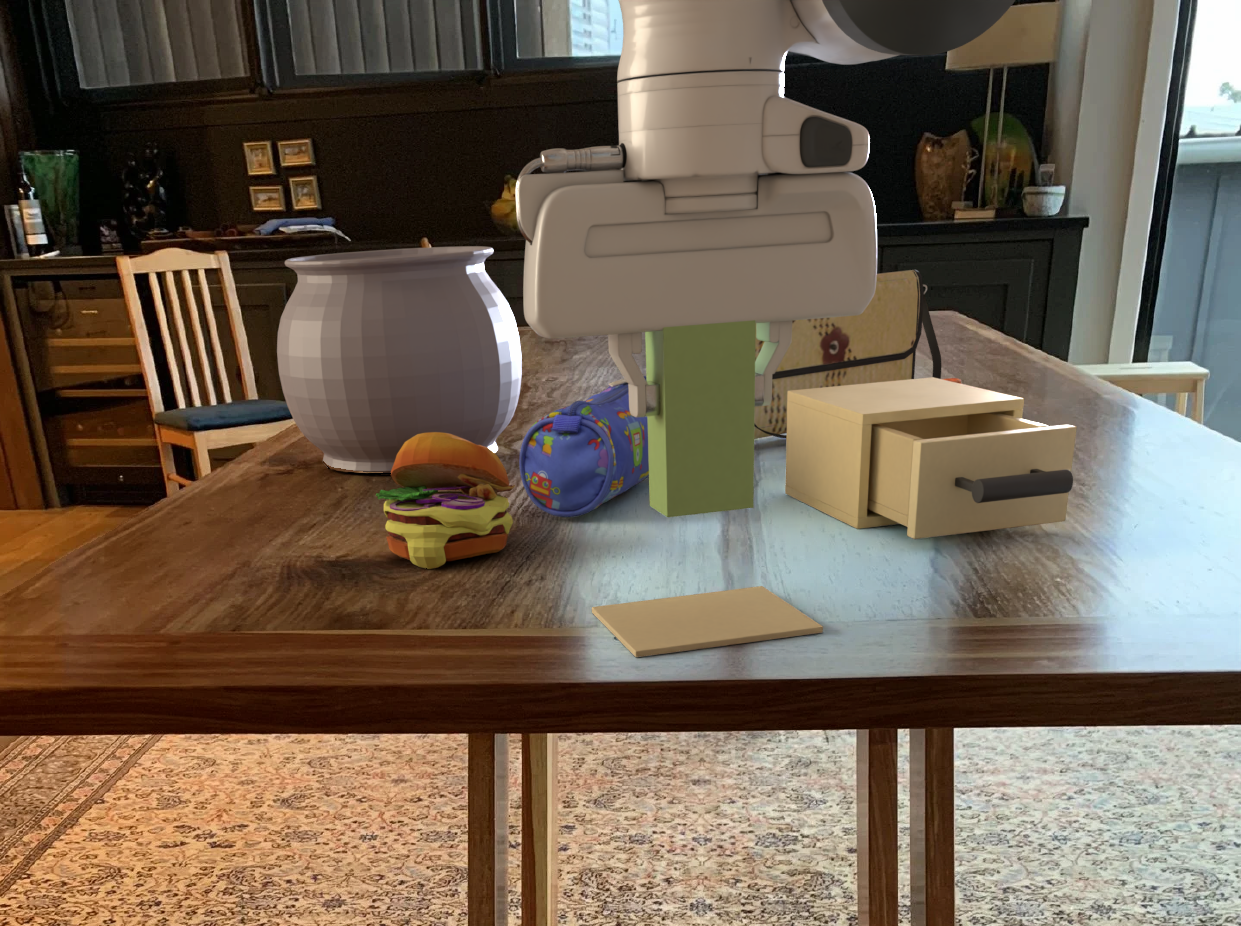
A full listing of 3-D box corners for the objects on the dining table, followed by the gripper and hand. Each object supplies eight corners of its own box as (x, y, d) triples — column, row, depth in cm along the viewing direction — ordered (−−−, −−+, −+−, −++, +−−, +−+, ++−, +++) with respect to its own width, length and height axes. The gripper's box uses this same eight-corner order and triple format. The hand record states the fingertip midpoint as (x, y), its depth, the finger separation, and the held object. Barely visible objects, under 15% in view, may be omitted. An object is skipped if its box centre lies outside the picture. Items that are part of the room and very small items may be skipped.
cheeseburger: (359, 569, 99) (353, 429, 96) (413, 567, 109) (410, 440, 106) (485, 569, 96) (483, 426, 94) (530, 567, 106) (528, 438, 104)
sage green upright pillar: (733, 497, 82) (733, 306, 77) (753, 508, 79) (756, 310, 74) (649, 506, 81) (644, 313, 76) (667, 518, 78) (663, 317, 73)
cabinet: (1012, 511, 105) (1024, 398, 101) (857, 529, 103) (862, 414, 99) (925, 478, 118) (933, 377, 114) (784, 493, 115) (787, 390, 111)
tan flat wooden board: (762, 591, 89) (762, 585, 89) (823, 632, 80) (823, 626, 80) (591, 612, 86) (591, 606, 86) (635, 657, 78) (635, 651, 78)
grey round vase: (499, 481, 126) (481, 254, 117) (255, 485, 131) (220, 267, 122) (548, 435, 148) (536, 241, 139) (338, 440, 152) (313, 252, 143)
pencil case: (605, 470, 129) (602, 366, 124) (690, 472, 126) (689, 366, 121) (517, 522, 111) (509, 403, 106) (613, 526, 108) (608, 403, 103)
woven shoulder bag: (748, 455, 132) (749, 292, 125) (705, 446, 137) (704, 290, 130) (955, 416, 146) (966, 268, 139) (908, 410, 151) (918, 267, 144)
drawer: (1099, 533, 94) (1113, 435, 91) (943, 553, 92) (951, 452, 89) (973, 488, 110) (980, 402, 106) (836, 503, 107) (839, 416, 104)
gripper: (525, 148, 66) (542, 434, 72) (898, 130, 70) (882, 402, 77) (500, 152, 71) (518, 418, 78) (847, 135, 75) (836, 389, 82)
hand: (701, 410), depth 77 cm, fingers closed on sage green upright pillar, 5 cm apart
